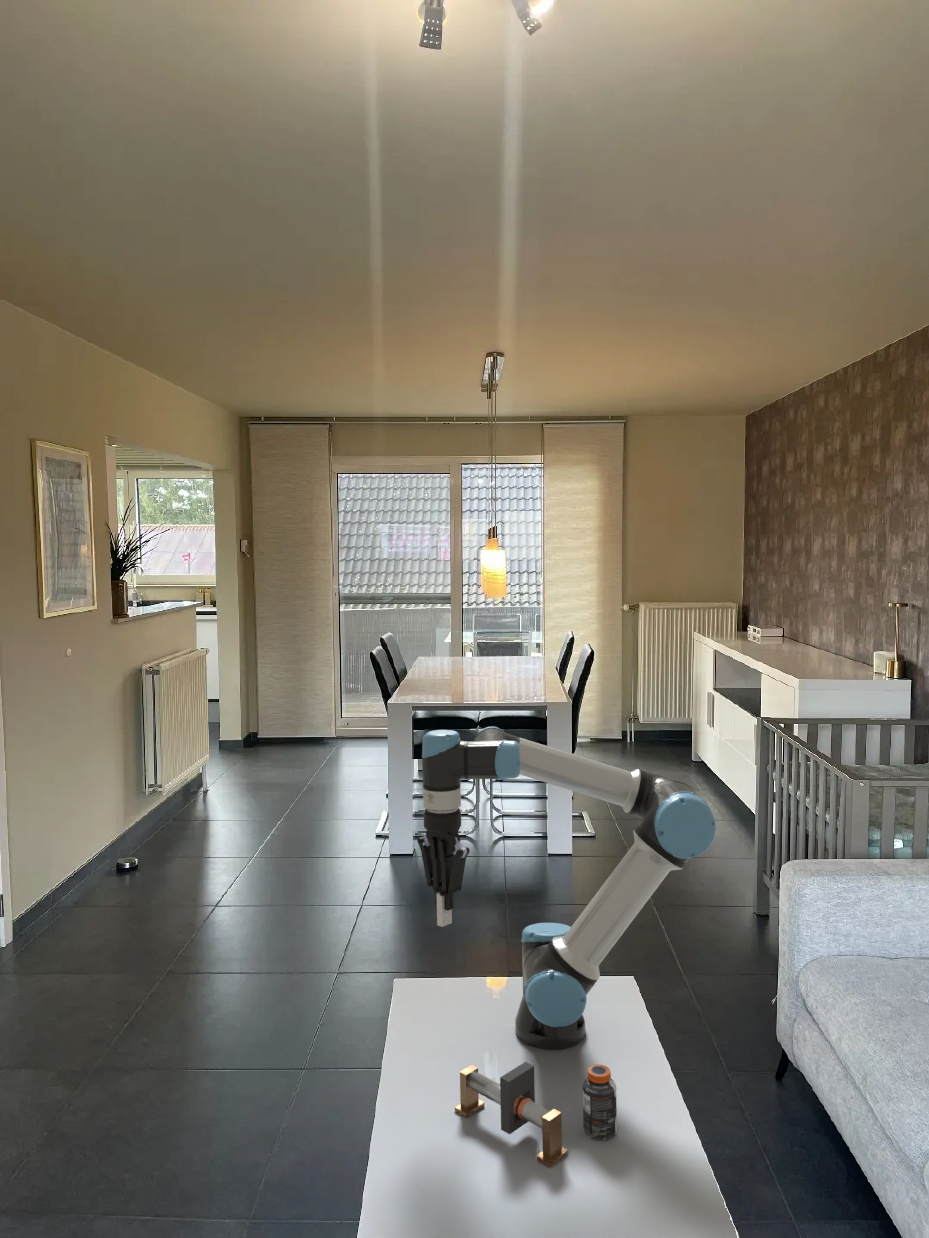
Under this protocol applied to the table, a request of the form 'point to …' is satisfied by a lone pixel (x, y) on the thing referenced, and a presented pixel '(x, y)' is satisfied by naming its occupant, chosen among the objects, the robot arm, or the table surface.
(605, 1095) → the pill bottle
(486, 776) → the robot arm
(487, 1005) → the table surface
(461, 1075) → the pipe rig
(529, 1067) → the grey plate with hole
